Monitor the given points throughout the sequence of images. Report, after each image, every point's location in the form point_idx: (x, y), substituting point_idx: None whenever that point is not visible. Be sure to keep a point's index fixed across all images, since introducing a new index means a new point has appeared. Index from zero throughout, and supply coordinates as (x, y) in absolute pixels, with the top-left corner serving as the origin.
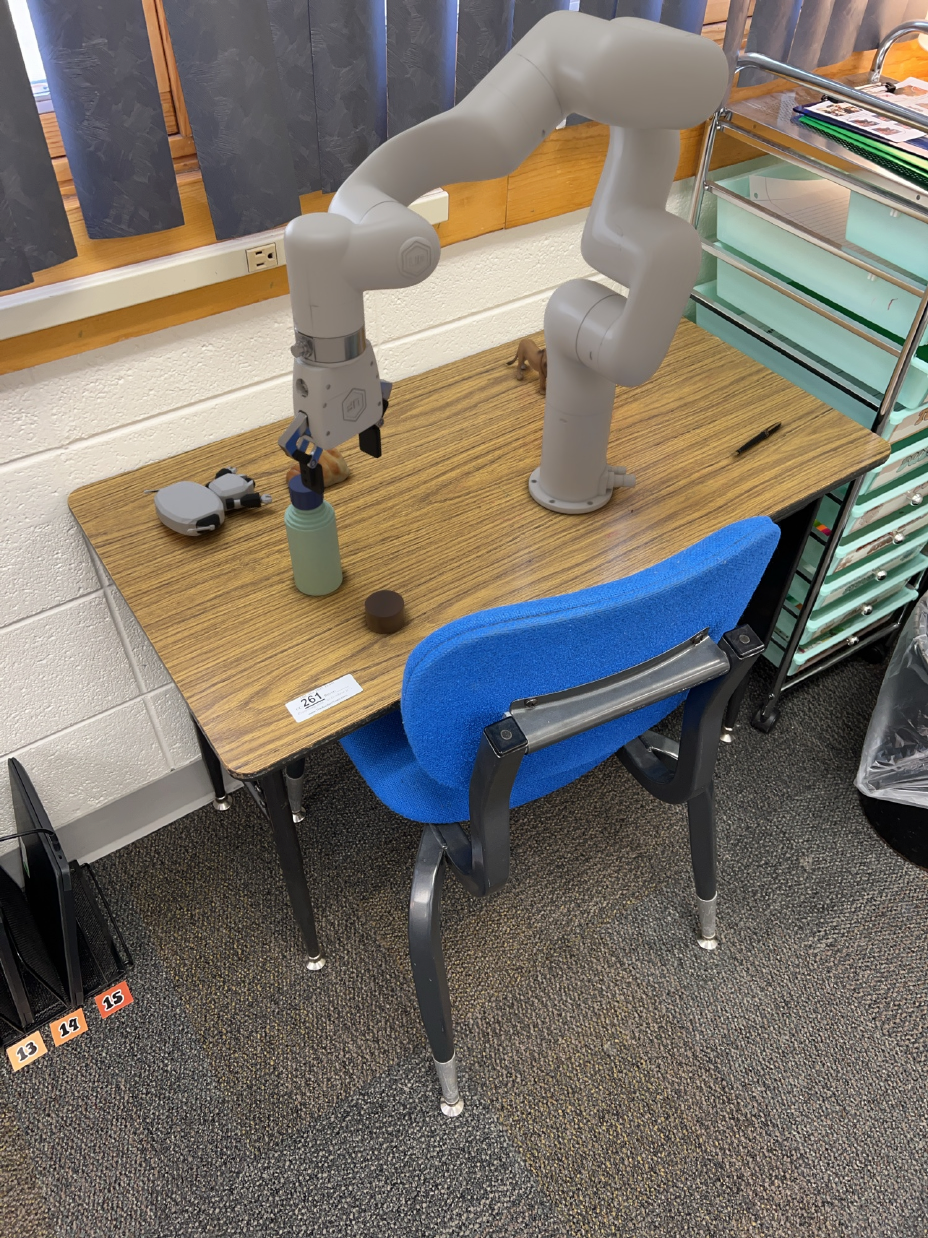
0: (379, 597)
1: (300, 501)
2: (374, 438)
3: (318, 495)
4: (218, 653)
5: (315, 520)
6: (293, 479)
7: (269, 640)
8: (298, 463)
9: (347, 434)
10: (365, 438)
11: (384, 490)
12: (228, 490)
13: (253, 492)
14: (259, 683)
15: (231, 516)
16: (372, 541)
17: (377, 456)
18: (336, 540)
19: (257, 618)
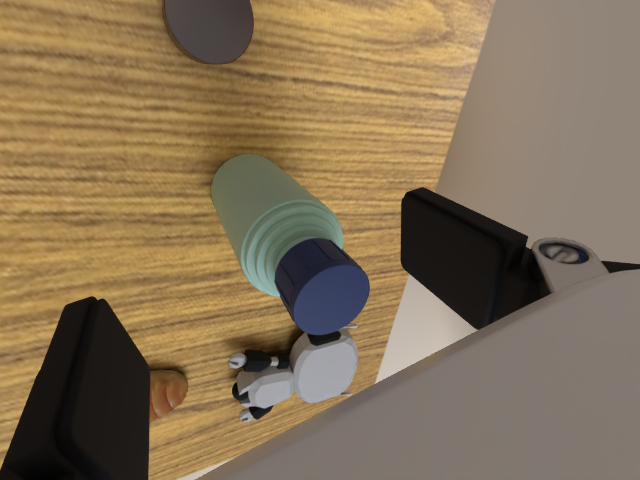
0: (211, 40)
1: (351, 258)
2: (87, 393)
3: (314, 256)
4: (412, 142)
5: (313, 217)
6: (344, 321)
7: (365, 121)
8: (158, 417)
9: (559, 374)
10: (128, 409)
11: (20, 341)
12: (282, 379)
13: (241, 376)
14: (417, 57)
15: (276, 347)
16: (117, 228)
17: (96, 302)
18: (244, 193)
19: (352, 169)
